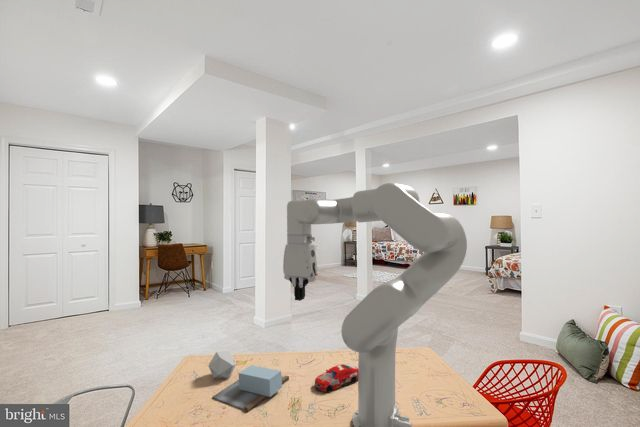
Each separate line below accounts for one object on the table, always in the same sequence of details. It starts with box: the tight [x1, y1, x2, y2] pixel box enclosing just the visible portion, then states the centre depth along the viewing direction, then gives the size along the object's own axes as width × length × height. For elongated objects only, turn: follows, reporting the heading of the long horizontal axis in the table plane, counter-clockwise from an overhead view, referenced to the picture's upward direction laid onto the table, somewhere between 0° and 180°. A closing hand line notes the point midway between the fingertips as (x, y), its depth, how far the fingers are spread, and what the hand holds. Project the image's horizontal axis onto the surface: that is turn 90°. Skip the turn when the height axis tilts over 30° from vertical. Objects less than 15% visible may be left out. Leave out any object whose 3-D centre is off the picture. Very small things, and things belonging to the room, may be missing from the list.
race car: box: [314, 363, 358, 393], centre depth 105 cm, size 16×7×5 cm, turn 122°
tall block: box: [238, 364, 283, 398], centre depth 100 cm, size 5×6×12 cm
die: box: [207, 351, 237, 379], centre depth 109 cm, size 8×9×10 cm
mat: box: [212, 375, 290, 413], centre depth 101 cm, size 14×20×1 cm
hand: (299, 299), depth 100 cm, fingers closed
